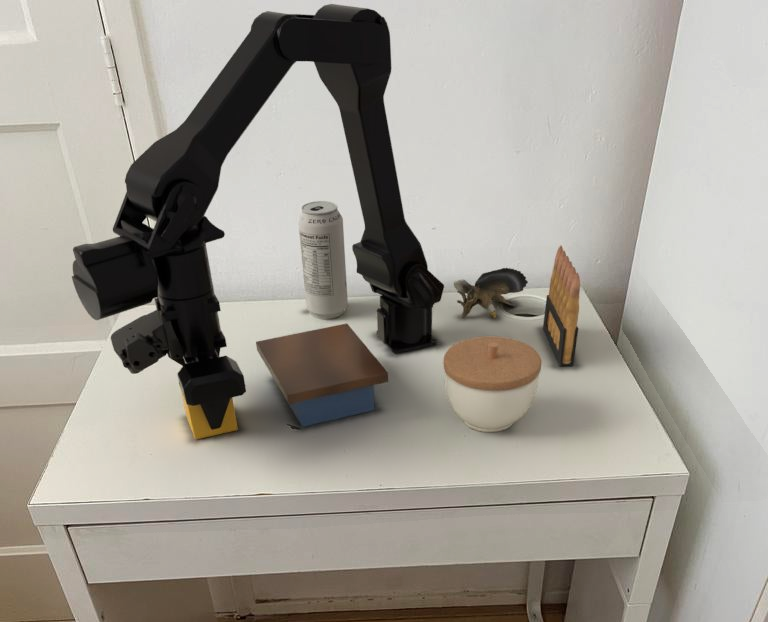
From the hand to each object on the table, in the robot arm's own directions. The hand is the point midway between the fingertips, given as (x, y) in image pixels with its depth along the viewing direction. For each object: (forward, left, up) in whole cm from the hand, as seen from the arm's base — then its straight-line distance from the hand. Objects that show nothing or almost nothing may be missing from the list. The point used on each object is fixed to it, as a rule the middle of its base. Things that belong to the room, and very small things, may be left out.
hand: (210, 416), depth 91 cm
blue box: (-14, -1, -1) cm, 14 cm away
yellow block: (0, 0, -1) cm, 1 cm away
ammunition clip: (-46, 0, -1) cm, 47 cm away
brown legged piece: (-43, -13, -1) cm, 45 cm away
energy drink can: (-22, -23, -1) cm, 32 cm away
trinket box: (-30, +12, -1) cm, 32 cm away
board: (-14, -1, +3) cm, 14 cm away
